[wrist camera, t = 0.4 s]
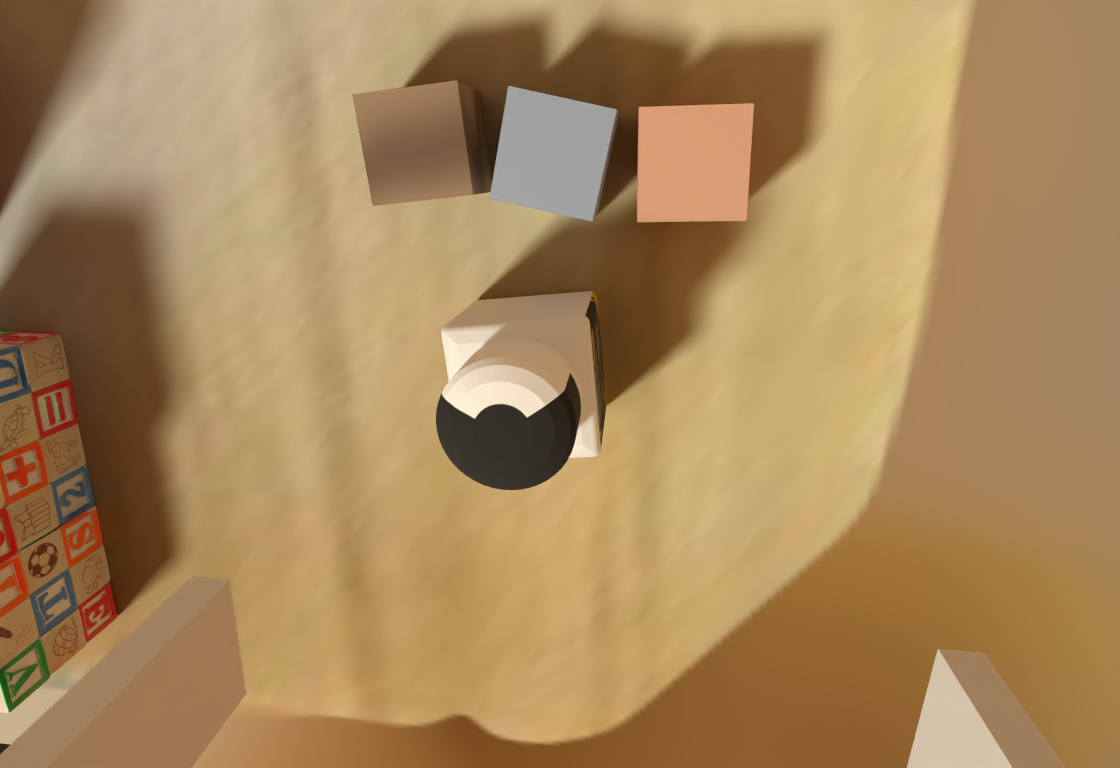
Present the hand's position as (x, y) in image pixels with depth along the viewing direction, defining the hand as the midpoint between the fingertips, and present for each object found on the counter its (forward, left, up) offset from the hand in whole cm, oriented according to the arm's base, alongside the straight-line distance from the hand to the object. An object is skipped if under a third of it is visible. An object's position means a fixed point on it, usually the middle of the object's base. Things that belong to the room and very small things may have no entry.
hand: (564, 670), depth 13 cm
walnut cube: (-9, -10, -27) cm, 30 cm away
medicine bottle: (+2, -4, -27) cm, 27 cm away
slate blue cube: (-9, -4, -27) cm, 29 cm away
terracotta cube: (-9, +3, -27) cm, 29 cm away
